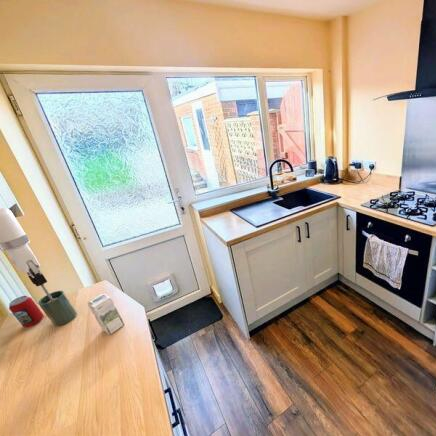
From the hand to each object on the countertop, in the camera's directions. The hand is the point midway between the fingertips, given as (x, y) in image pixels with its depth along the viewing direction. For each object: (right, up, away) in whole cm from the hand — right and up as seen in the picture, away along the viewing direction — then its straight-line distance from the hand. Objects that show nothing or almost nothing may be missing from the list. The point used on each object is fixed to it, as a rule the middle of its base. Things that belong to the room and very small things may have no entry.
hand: (40, 282), depth 96 cm
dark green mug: (+2, -18, +8) cm, 20 cm away
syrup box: (+28, -18, +1) cm, 34 cm away
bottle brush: (+1, -13, +6) cm, 15 cm away
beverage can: (-12, -19, +9) cm, 24 cm away
